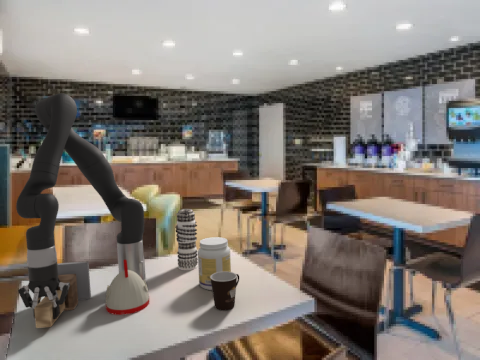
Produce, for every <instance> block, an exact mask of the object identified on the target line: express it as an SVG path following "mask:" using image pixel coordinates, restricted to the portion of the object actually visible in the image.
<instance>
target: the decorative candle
mask: <svg viewBox="0 0 480 360" xmlns="http://www.w3.org/2000/svg"><path fill="white" fill-rule="evenodd" d="M195 214H196V212H194V210H193V209H191V208H181V209H178V211H177V212H176V213H175V215H176V225H175V233H176V234H175V235H176V242H177V246H178V247H177V252H176V253H177V269H179V270H181V271H193V270H195V269H197V268H198V250H197V243H196V242H197V239H198V237H196V235H198V233H197V231H198V229H197V228H196V227H198V224H197V221H196V217H195Z"/></svg>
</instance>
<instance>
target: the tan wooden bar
mask: <svg viewBox="0 0 480 360" xmlns="http://www.w3.org/2000/svg"><path fill="white" fill-rule="evenodd" d="M61 293H62V291H61V290H57V294H58V298H59V299H60V296H61ZM52 307H53V306H52V304H51V301H49V298H48V297H42V298H41V301H40V303H39V304H38V305H37V306H36V307H35V308H34V311H35V319H34V322H35V328H36V329H42V328H43V329H44V328H51V327H52V326H53V325H54V323H55V322H56V321H57V320H58V318H59V317H60V315H61V314H62V313H63V312H64V311H63V310H64V309H65V302H64V303H63V304H62V305H59V307H60V314H59V316H58V317H57V318H56V319H53V312H52Z"/></svg>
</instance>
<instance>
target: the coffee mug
mask: <svg viewBox="0 0 480 360" xmlns="http://www.w3.org/2000/svg"><path fill="white" fill-rule="evenodd" d="M210 278H211V285H212V290H211V291H212V297H213V303H214V304H213V305H214V308H215V309H216V310H217V311H218V310H219V311H230V310H232V309H234V308H235V306H236V304H235V302H236V293H237V287H238V285H239V282H240V275H239V274H238V273H235V272H233V271H231V272H217V273H214V274H212V275H211V276H210Z"/></svg>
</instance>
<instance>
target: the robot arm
mask: <svg viewBox="0 0 480 360" xmlns="http://www.w3.org/2000/svg"><path fill="white" fill-rule="evenodd" d="M76 103H77V102H76V101H75V100H74V98H73V97H71V96H70V95H69V94H66V93H63V92H62V93H60V92H59V93H56V94H52V95H50V96H47V97H45V98H43V99H40V100H39V101H38V102H37V103H36V104H35V107H34V111H35V114H36V117H37V119H38V121H39V123H40V124H42V126H43V127H44V128H45V129H46V130H47V133H46V136H45V137H44V139H43V141H42V142H41V144H40V145H39V148H38V149H37V151H36V153H35V155H34V158H33V161H32V165H31V170H30V175H29V178H28V180H27V181H26V183H25V185H24V187H23V188H22V190H21V192H20V193H19V195H18V197H17V199H16V203H15V204H16V205H15V208H16V210H15V211H16V213H17V214H18V216H20V217H21V218H23V219H40V221H39V224H38V225H35V226H31V227H28V228H27V229H26V232H25V237H26V250H27V251H26V264H27V274H28V280H29V281H28V284H27V285H22V286H21V287H19V289H18V291H17V292H18V294H19V297H20V298H21V300H22V303H23V304H24V306H25V308H31V309H32V311H33V318H34V320H35V311H34V308H35V307H36V306H37V305H38V304H39V303H40V302H41V300H42V298H44V297H48V298H49V301H51V304H52V306H53V307H52V312H53V319H56V318H57V317H58V316H59V314H60V307H59V305H62V304H63V303H64V302H65V300H66V297H67V294H68V290H69V287H70V283H69V282H67V283H62V282H60V280H59V278H58V265H57V264H58V254H57V253H58V252H57V250H56V243H55V228H56V227H55V226H56V221H57V216H58V213H59V209H60V206H59V205H60V204H59V200H58V199H57V197H56V196H55V195H54V194H53V193H42V192H44V191H45V190H47V189H51V188H53V187H55V186H56V185H57V181H58V176H59V172H60V171H59V170H60V165H61V161H62V155H63V153H64V151H65V152H66V153H67V154H68V156H69V157H70V159H72V161H73V162H74V164H75V165H76V167H77V168H78V170H79V171H80V172H81V174H82V175H83V176H84V178H85V179H86V180H87V182H89V183H90V185H91V186H92V187H93V189H94V190H95V191H96V192H97V194H98V195H99V196H100V198H101V199H102V200H103V202H104V204H105V206H106V208H107V209H108V212H109V213H110V214H111V216H112V217H113V219H115V220H116V221H117V222H120V223H121V227H120V230H121V231H120V232H119V233H117V235H116V247H117V249H116V251H117V264H118V265H117V269H118V274H119V273H120V272H122V271H124V260H127V267H128V270H131V271H133V272H135V273H137V274H138V275H139V276H140V277H141V279H142V280H145V281H147V280H146V279H147V278H146V261H145V260H146V259H145V256H144V245H143V242H144V241H143V235H144V234H145V233H144V232H145V209H144V206H143V204H142V202H141V201H140V200H138V199H134V198H129V197H127V196H126V194H124V193H123V191H122V190H121V189H120V188H119V186H118V183H117V182H116V179H115V174H114V172H113V168H112V166H111V164H110V162H109V161H108V159H107V158H106V156H105V155H104V154H103V152H102V151H101V149H99V148H98V147H97V146H95V145H94V144H92V143H91V142H90V141H88V140H86V139H85V138H83V137H82V136H81V135H79V134H78V133H77V132H76V131H75V130H74V128H73V125H74V123H75V120H76V117H77V115H78V107H77V104H76ZM58 287H60V290H61V291H62V293H61V296H60V299H59V298H58V294H57V291H56V290H57V288H58ZM30 292H31V293H32V294H33V297H32V296H31V294H30ZM60 315H61V314H60ZM59 317H60V316H59ZM59 317H58V318H59ZM58 318H57V319H58Z"/></svg>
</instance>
